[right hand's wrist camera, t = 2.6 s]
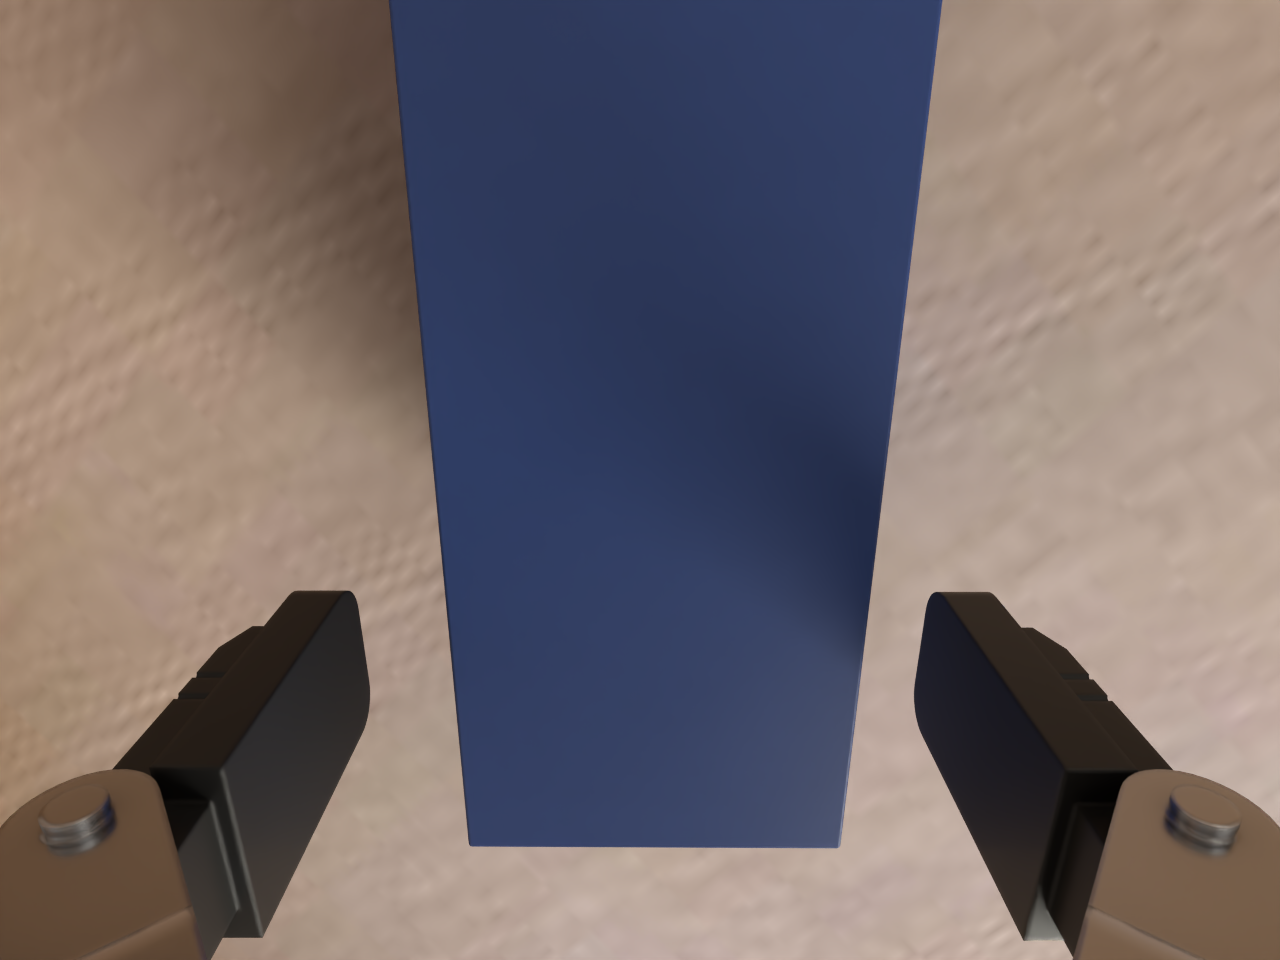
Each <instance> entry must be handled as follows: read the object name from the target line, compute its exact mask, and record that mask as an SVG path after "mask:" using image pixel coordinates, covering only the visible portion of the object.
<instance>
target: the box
mask: <svg viewBox="0 0 1280 960" xmlns="http://www.w3.org/2000/svg"><path fill="white" fill-rule="evenodd" d="M389 7H390V18H391V28H392V39H393V49H394V60H395V70H396V81H397V91H398V102H399V113H400V123H401V134H402V144H403V155H404V165H405V176H406V186H407V197H408V207H409V218H410V228H411V239H412V249H413V260H414V271H415V281H416V292H417V302H418V313H419V323H420V334H421V344H422V355H423V365H424V376H425V386H426V397H427V407H428V418H429V428H430V439H431V450H432V460H433V471H434V481H435V492H436V502H437V513H438V523H439V534H440V544H441V555H442V565H443V576H444V586H445V597H446V608H447V618H448V629H449V639H450V650H451V660H452V671H453V681H454V692H455V702H456V713H457V723H458V734H459V744H460V755H461V765H462V776H463V787H464V797H465V808H466V818H467V829H468V839H469V845H470V846H491V847H696V848H839V847H840V843H841V834H842V826H843V818H844V810H845V801H846V793H847V785H848V777H849V768H850V760H851V752H852V743H853V735H854V727H855V719H856V710H857V702H858V694H859V685H860V677H861V669H862V661H863V652H864V644H865V636H866V628H867V619H868V611H869V603H870V594H871V586H872V578H873V570H874V561H875V553H876V545H877V537H878V528H879V520H880V512H881V503H882V495H883V487H884V479H885V470H886V462H887V454H888V445H889V437H890V429H891V421H892V412H893V404H894V396H895V388H896V379H897V371H898V363H899V354H900V346H901V338H902V330H903V321H904V313H905V305H906V297H907V288H908V280H909V272H910V263H911V255H912V247H913V239H914V230H915V222H916V214H917V205H918V197H919V189H920V181H921V172H922V164H923V156H924V148H925V139H926V131H927V123H928V114H929V106H930V98H931V90H932V81H933V73H934V65H935V57H936V48H937V40H938V32H939V23H940V15H941V7H942V0H389Z"/></svg>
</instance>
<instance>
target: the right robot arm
mask: <svg viewBox="0 0 1280 960" xmlns="http://www.w3.org/2000/svg"><path fill="white" fill-rule="evenodd" d="M369 704H370V685H369V677H368V670H367V664H366V657H365V650H364V643H363V636H362V630H361V623H360V616H359V609H358V604H357V601H356V598H355V596H354V594H353V593H352V592H351V591H294V592H292V593H291V594H290V595H289V596H288V597H287V599H286V600H285V601H284V602H283V603H282V605H281V606H280V607H279V608H278V610H277V611H276V612H275V613H274V615H273V616H272V617H271V618H270V619H269V621H268V622H267V623H266V624H265V626H252V627H251V628H249V629H247V630H246V631H244V632H243V633H241V634H239V635H238V636H236V637H235V638H233V639H232V640H230V641H228V642H227V643H225V644H224V645H222V646H220V647H219V648H218V649H217V650H216V651H215V652H214V653H213V655H212V656H211V657H210V658H209V659H208V660H207V662H206V663H205V664H204V665H203V666H202V667H201V668H200V670H199V671H198V672H197V677H196V678H192V679H191V680H190V681H189V682H188V683H187V684H186V686H185V687H184V688H183V689H182V690H181V691H180V692H179V696H178V699H173V700H172V702H171V703H170V704H169V705H168V706H167V707H166V708H165V710H164V711H163V712H162V713H161V714H160V715H159V717H158V718H157V719H156V720H155V721H154V722H153V723H152V725H151V726H150V727H149V728H148V729H147V730H146V731H145V733H144V734H143V735H142V736H141V737H140V738H139V739H138V741H137V742H136V743H135V744H134V745H133V746H132V747H131V749H130V750H129V751H128V752H127V753H126V754H125V755H124V757H123V758H122V759H121V760H120V761H119V762H118V763H117V765H116V766H115V767H114V768H113V769H112V770H106V771H99V772H95V773H90V774H86V775H83V776H80V777H77V778H74V779H71V780H69V781H66V782H64V783H61V784H59V785H57V786H55V787H53V788H51V789H49V790H47V791H45V792H43V793H42V794H40V795H38V796H37V797H35V798H33V799H32V800H30V801H29V802H27V803H26V804H25V805H23V806H22V807H21V808H19V809H18V810H17V811H16V812H15V813H14V814H13V815H11V816H10V817H9V818H8V819H7V821H6V822H5V823H4V824H3V825H2V826H1V827H0V960H211V958H212V956H213V954H214V953H215V951H216V949H217V947H218V945H219V943H220V941H221V940H222V938H263V936H264V933H265V931H266V929H267V927H268V925H269V923H270V921H271V919H272V917H273V915H274V913H275V911H276V909H277V907H278V905H279V903H280V901H281V899H282V897H283V895H284V893H285V891H286V888H287V886H288V884H289V882H290V880H291V878H292V876H293V874H294V872H295V870H296V868H297V866H298V864H299V862H300V860H301V858H302V856H303V854H304V852H305V850H306V848H307V845H308V843H309V841H310V839H311V837H312V835H313V833H314V831H315V829H316V827H317V825H318V823H319V821H320V819H321V817H322V815H323V813H324V811H325V809H326V807H327V805H328V802H329V800H330V798H331V796H332V794H333V792H334V790H335V788H336V786H337V784H338V782H339V780H340V778H341V776H342V774H343V772H344V770H345V768H346V766H347V764H348V762H349V760H350V757H351V755H352V753H353V751H354V749H355V747H356V745H357V743H358V741H359V739H360V737H361V735H362V733H363V731H364V728H365V725H366V722H367V717H368V712H369ZM914 704H915V713H916V718H917V722H918V726H919V729H920V732H921V734H922V736H923V738H924V740H925V742H926V744H927V746H928V748H929V750H930V752H931V754H932V756H933V758H934V760H935V762H936V764H937V766H938V768H939V770H940V773H941V775H942V777H943V779H944V781H945V783H946V785H947V787H948V789H949V791H950V793H951V795H952V797H953V799H954V801H955V803H956V805H957V807H958V809H959V811H960V813H961V815H962V817H963V819H964V821H965V823H966V825H967V827H968V829H969V831H970V833H971V835H972V837H973V839H974V841H975V843H976V845H977V847H978V849H979V851H980V853H981V855H982V857H983V859H984V861H985V864H986V866H987V868H988V870H989V872H990V874H991V876H992V878H993V880H994V882H995V884H996V886H997V888H998V890H999V892H1000V894H1001V896H1002V898H1003V900H1004V902H1005V904H1006V906H1007V908H1008V910H1009V912H1010V914H1011V916H1012V918H1013V920H1014V922H1015V924H1016V926H1017V928H1018V930H1019V932H1020V934H1021V936H1022V938H1023V940H1024V941H1064V942H1065V943H1066V945H1067V947H1068V949H1069V951H1070V953H1071V954H1072V956H1073V960H1280V827H1279V826H1278V825H1277V824H1276V823H1275V822H1274V821H1273V819H1272V818H1271V817H1270V816H1269V815H1267V814H1266V813H1265V812H1264V811H1263V810H1262V809H1261V808H1259V807H1258V806H1257V805H1255V804H1254V803H1253V802H1251V801H1250V800H1248V799H1247V798H1245V797H1243V796H1242V795H1240V794H1238V793H1237V792H1235V791H1233V790H1231V789H1229V788H1227V787H1225V786H1223V785H1221V784H1219V783H1216V782H1214V781H1211V780H1209V779H1206V778H1203V777H1200V776H1197V775H1194V774H1190V773H1185V772H1181V771H1174V770H1173V769H1172V768H1171V767H1170V766H1169V765H1168V764H1167V763H1166V762H1165V760H1164V759H1163V758H1162V757H1161V756H1160V755H1159V754H1158V752H1157V751H1156V750H1155V749H1154V748H1153V747H1152V746H1151V744H1150V743H1149V742H1148V741H1147V740H1146V739H1145V738H1144V737H1143V735H1142V734H1141V733H1140V732H1139V731H1138V730H1137V729H1136V727H1135V726H1134V725H1133V724H1132V723H1131V722H1130V721H1129V719H1128V718H1127V717H1126V716H1125V715H1124V714H1123V713H1122V712H1121V710H1120V709H1119V708H1118V707H1117V706H1116V705H1115V704H1114V702H1113V701H1108V699H1107V695H1106V693H1105V692H1104V691H1103V690H1102V689H1101V688H1100V687H1099V685H1098V684H1097V683H1096V682H1095V681H1094V680H1090V679H1089V674H1088V673H1087V672H1086V671H1085V670H1084V668H1083V667H1082V666H1081V665H1080V664H1079V663H1078V662H1077V660H1076V659H1075V658H1074V657H1073V656H1072V655H1071V654H1070V653H1069V651H1068V650H1067V649H1065V648H1064V647H1062V646H1061V645H1059V644H1057V643H1056V642H1054V641H1053V640H1051V639H1050V638H1048V637H1046V636H1045V635H1043V634H1042V633H1040V632H1038V631H1037V630H1035V629H1034V628H1021V627H1020V626H1019V624H1018V623H1017V622H1016V621H1015V620H1014V618H1013V617H1012V616H1011V615H1010V614H1009V612H1008V611H1007V610H1006V609H1005V607H1004V606H1003V605H1002V604H1001V603H1000V601H999V600H998V599H997V598H996V597H995V596H994V595H993V594H992V593H990V592H935V593H933V594H932V595H931V596H930V598H929V600H928V603H927V607H926V613H925V620H924V626H923V633H922V640H921V646H920V653H919V660H918V666H917V673H916V680H915V687H914Z"/></svg>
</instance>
